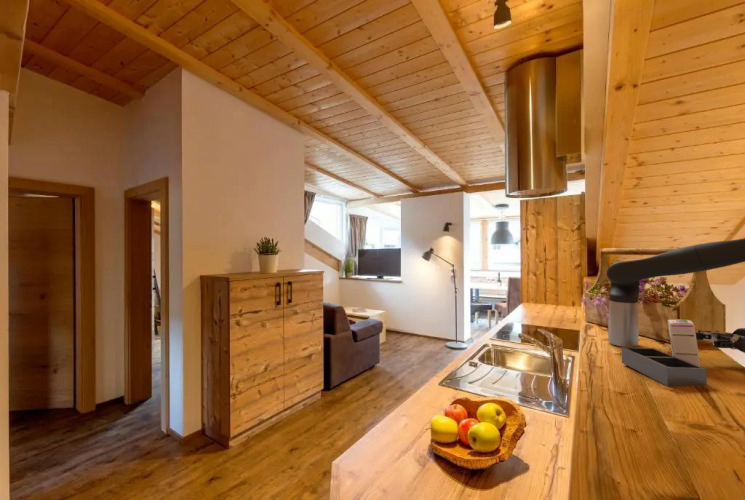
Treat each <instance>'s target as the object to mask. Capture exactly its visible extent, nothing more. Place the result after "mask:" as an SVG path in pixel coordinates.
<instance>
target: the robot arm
mask: <svg viewBox="0 0 745 500" xmlns="http://www.w3.org/2000/svg"><path fill="white" fill-rule="evenodd" d="M741 263H745V237H743V238H738V239H730V240H720V241H711V242H706V243H699V244H694V245H689V246H683V247H681V248H675V249H673V250H669V251H665V252H662V253H660V254H655V255H653V256H650V257H645V258H641V259H633V260H622V261H621V260H619V261H615V262H612V264H610V266H609V265H608V268H607V270H606V277H607V279H608V280H609V281H610V290H609V294H608V319H607V326H608V327H607V329H608V330H607V331H608V332H607V333H608V334H607V341H608V343H609V344H611V345H614V346H618V347H621V348H622V347H631V348H635V347H634V346H638V347H639V296H640V281H642V280H646V279H651V278H657V277H666V276H667V277H668V276H678V275H687V274H693V273H699V272H700V273H701V272H705V271H709V270H715V269H716V270H717V269H719V268H725V267H729V266H734V265H737V264H741ZM695 333H696V339H697V341H707V342H708V341H709V342H710V343H713V347H715V348H717V349H730V350H736V351H737V350H738V351H740V352H741V353H744V354H745V327H738V328H737V329H735V330H734V331H733V332H729V331H728V332H727V331H726V332H721V331H719V330H702V329H699V330H697V332H696V331H695Z"/></svg>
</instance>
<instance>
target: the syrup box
mask: <svg viewBox="0 0 745 500" xmlns="http://www.w3.org/2000/svg"><path fill="white" fill-rule="evenodd" d="M667 325H668V327H667V328H668V334H669V342H670V349H671V355H672V356H675V357H677V358H680V359H683V360H685V361H688V362H690V363H693V364H695V365H698V366H700V367H702V366H701V361H700V354H699V348H698V347H699V346H698V340H697V339H696V333H695V332H696V327H695V323H694V322H693V321H692V320H691V319H680V318H679V319H667Z"/></svg>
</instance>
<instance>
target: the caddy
mask: <svg viewBox="0 0 745 500" xmlns="http://www.w3.org/2000/svg"><path fill="white" fill-rule="evenodd" d="M621 363H622V364H623V365H626V366H628V367H630V368H631V369H633V370H636V371H638V372H639V373H640V374H643V375H644V376H646V377H648V378H651V379H652V380H654V381H656V382H659V383H660V384H661V385H663V386H666V387H693V386H696V387H697V386H699V387H700V386H708V382H707V381H708V380H707V379H708V372H707V371H708V370H707V368H705V367H702V366H701V365H700V366H701V367H700V366H698V365H695V364H693V363H690V362H688V361H685V360H683V359H680V358H677V357H675V356H672V354H670V353H667V352H665V351H663V350H660V349H657V348H654V347H622V346H621Z"/></svg>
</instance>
